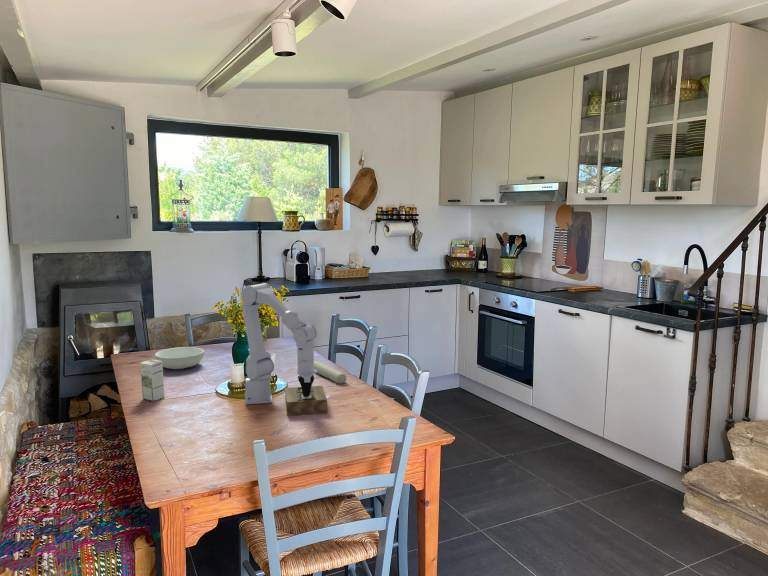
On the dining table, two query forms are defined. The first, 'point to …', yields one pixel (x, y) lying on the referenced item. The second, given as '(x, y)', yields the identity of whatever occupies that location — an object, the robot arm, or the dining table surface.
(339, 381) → the tube
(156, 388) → the syrup box
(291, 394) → the brown flat block
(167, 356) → the serving bowl
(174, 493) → the dining table surface
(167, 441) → the dining table surface
